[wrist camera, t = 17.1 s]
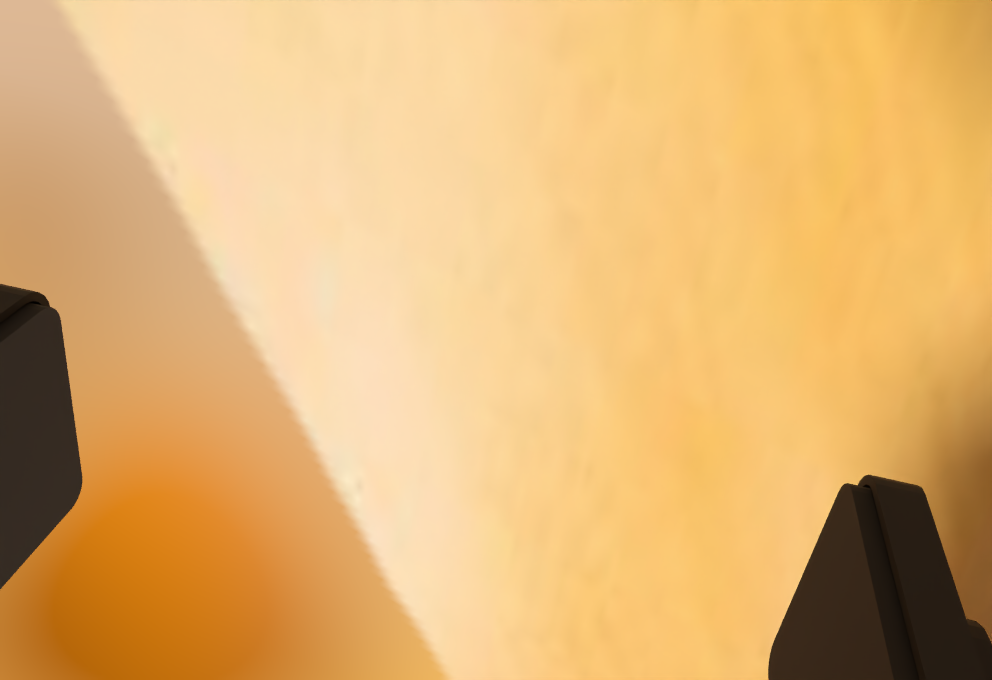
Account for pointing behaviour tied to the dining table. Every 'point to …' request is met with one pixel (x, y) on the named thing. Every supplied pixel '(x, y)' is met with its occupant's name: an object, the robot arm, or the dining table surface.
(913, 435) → the dining table surface
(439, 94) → the dining table surface
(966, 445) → the dining table surface
